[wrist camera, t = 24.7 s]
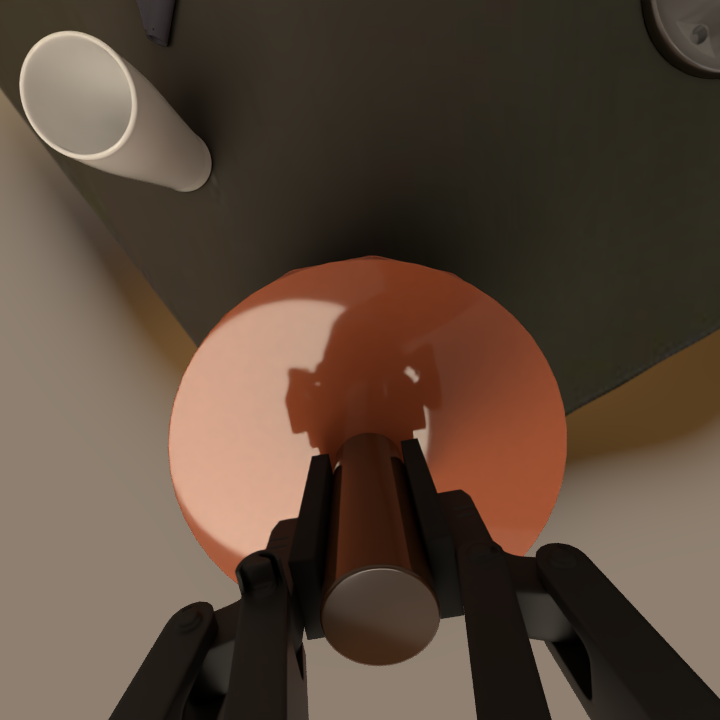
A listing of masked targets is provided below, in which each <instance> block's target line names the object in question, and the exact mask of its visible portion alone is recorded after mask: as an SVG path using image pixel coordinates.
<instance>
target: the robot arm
mask: <svg viewBox="0 0 720 720" xmlns="http://www.w3.org/2000/svg"><path fill="white" fill-rule="evenodd" d="M642 7H643V14H644V19H645V23H646V26H647V29H648V32H649V34H650V37H651V39H652V41H653V43H654V44H655V46H656V48H657V49H658V50H659V52H660V53H661V54H662V56H663V57H664V58H665V59H666V60H667V61H668V62H669V63H671V64H672V65H673V66H674V67H676V68H678V69H679V70H681V71H683V72H685V73H687V74H689V75H692V76H695V77H700V78H707V79H720V0H642ZM400 442H401V448H402V454H403V460H404V465H405V469H406V473H407V477H408V481H409V485H410V489H411V493H412V497H413V501H414V505H415V509H416V513H417V517H418V521H419V525H420V529H421V533H422V537H423V541H424V545H425V549H426V552H427V556H428V560H429V564H430V568H431V572H432V576H433V580H434V584H435V588H436V591H437V595H438V599H439V603H440V610H441V615H440V619H443V618H449V617H455V616H461V615H464V613H465V622H466V630H467V638H468V647H469V655H470V663H471V671H472V679H473V688H474V696H475V705H476V713H477V720H552V719H551V716H550V713H549V709H548V705H547V702H546V698H545V694H544V691H543V688H542V684H541V680H540V677H539V673H538V670H537V666H536V662H535V659H534V655H533V652H532V648H531V644H530V641H529V638H530V639H536V640H543V641H545V644H546V646H547V647H548V649H549V651H550V652H551V654H552V656H553V657H554V659H555V661H556V662H557V664H558V666H559V667H560V669H561V671H562V672H563V674H564V676H565V677H566V679H567V681H568V682H569V684H570V686H571V687H572V689H573V691H574V692H575V694H576V696H577V697H578V699H579V701H580V702H581V704H582V706H583V708H584V709H585V711H586V712H587V714H588V716H589V717H590V719H591V720H720V699H719V698H718V697H717V695H716V694H715V693H714V692H713V691H712V690H711V689H710V688H709V687H708V686H707V685H706V684H705V683H704V682H703V680H702V679H701V678H700V677H699V676H698V675H697V674H696V673H695V672H694V671H693V670H692V669H691V668H690V666H689V665H688V664H687V663H686V662H685V661H684V660H683V659H682V658H681V657H680V656H679V655H678V653H677V652H676V651H675V650H674V649H673V648H672V647H671V646H670V645H669V644H668V643H667V642H666V641H665V639H664V638H663V637H662V636H660V634H659V633H658V632H657V631H656V630H655V629H654V628H653V627H652V626H651V624H650V623H649V622H648V621H647V620H646V619H645V618H644V617H643V616H642V615H641V614H640V613H639V612H638V610H636V608H635V607H634V606H633V605H632V604H631V603H630V602H629V601H628V600H627V599H626V598H625V597H624V595H623V594H622V593H621V592H620V591H619V590H618V589H617V588H616V587H615V586H614V585H613V584H612V583H611V581H610V580H609V579H608V578H607V577H606V576H605V575H604V574H603V573H602V572H601V571H600V570H599V569H598V567H597V566H596V565H595V564H594V563H593V562H592V561H591V560H590V559H589V558H588V557H587V556H586V555H585V554H584V553H583V552H582V551H580V550H579V549H577V548H575V547H573V546H570V545H567V544H561V543H551V544H547V545H544V546H542V547H540V549H539V550H538V551H537V552H536V557H524V556H517V555H513V554H510V553H507V552H505V551H504V550H503V549H502V547H501V546H500V545H499V544H497V543H496V542H494V541H493V539H492V538H491V536H490V534H489V532H488V530H487V528H486V526H485V524H484V522H483V520H482V518H481V516H480V514H479V512H478V510H477V508H476V507H475V504H474V502H473V500H472V498H471V496H470V495H468V494H467V493H466V492H464V491H463V490H461V489H459V490H453V491H447V492H441V493H437V490H436V487H435V485H434V482H433V479H432V476H431V474H430V471H429V468H428V466H427V463H426V460H425V457H424V455H423V452H422V449H421V446H420V444H419V441H418V438H415V439H409V440H403V441H400ZM332 483H333V471H332V467H331V462H330V457H329V453H327V454H321V455H316V456H312V458H311V462H310V466H309V471H308V475H307V480H306V484H305V489H304V493H303V498H302V502H301V507H300V511H299V516H298V517H297V518H291V519H285V520H280V521H279V522H278V523H277V524H276V526H275V527H274V528H273V529H272V531H271V534H270V537H269V540H268V541H269V542H268V543H267V547H266V549H265V550H259V551H256V552H254V553H251V554H250V555H248V556H247V557H245V558H244V559H243V560H242V561H241V562H240V563H239V564H238V565H237V567H236V570H235V574H236V578H237V581H238V585H239V588H240V591H241V595H242V597H241V599H240V600H238V601H237V602H235V603H233V604H231V605H229V606H226V607H224V608H222V609H219V610H217V611H214V610H213V607H212V605H211V604H209V603H208V602H196V603H193V604H190V605H188V606H186V607H184V608H182V609H180V610H179V611H178V612H177V613H175V614H174V615H173V616H172V617H171V619H170V620H169V621H168V623H167V624H166V625H165V627H164V629H163V631H162V632H161V634H160V635H159V637H158V639H157V640H156V642H155V644H154V645H153V647H152V648H151V650H150V652H149V654H148V655H147V657H146V658H145V660H144V662H143V663H142V665H141V667H140V669H139V670H138V672H137V673H136V675H135V677H134V678H133V680H132V682H131V683H130V685H129V687H128V688H127V690H126V692H125V693H124V695H123V696H122V698H121V700H120V701H119V703H118V705H117V706H116V708H115V710H114V711H113V713H112V715H111V716H110V718H109V720H309V718H308V696H307V675H306V655H305V650H304V646H303V642H302V638H303V631H304V627H305V631H306V635H307V639H308V640H311V639H317V638H323V637H325V636H324V634H323V631H322V628H321V625H320V603H321V593H322V583H323V573H324V563H325V553H326V543H327V533H328V523H329V513H330V503H331V493H332ZM463 606H464V608H463Z"/></svg>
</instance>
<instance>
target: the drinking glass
mask: <svg viewBox="0 0 720 720" xmlns="http://www.w3.org/2000/svg"><path fill="white" fill-rule="evenodd" d="M20 96H21V101H22V105H23V108H24V111H25V114H26V116H27V118H28V120H29V122H30V124H31V125H32V127H33V128H34V130H35V131H36V132H37V134H38V135H39V136H40V137H41V138H42V139H43V140H44V141H45V142H46V143H47V144H48V145H49V146H51V147H52V148H53V149H55V150H57V151H58V152H60V153H62V154H64V155H66V156H68V157H71V158H73V159H75V160H77V161H79V162H81V163H84V164H86V165H88V166H91V167H93V168H96V169H99V170H101V171H104V172H107V173H111V174H114V175H118V176H122V177H126V178H130V179H135V180H139V181H144V182H148V183H152V184H157V185H161V186H165V187H169V188H171V189H173V190H176V191H181V192H190V191H194V190H196V189H198V188H200V187H201V186H202V185H203V184H204V183H205V182H206V181H207V179H208V178H209V175H210V172H211V166H212V162H211V156H210V152H209V150H208V148H207V146H206V144H205V143H204V141H203V140H202V139H201V138H200V137H199V136H198V135H197V134H196V133H194V132H193V131H192V130H191V128H190V127H189V126H188V125H187V124H186V123H185V122H184V120H183V119H182V118H181V117H180V116H179V115H178V113H177V112H176V111H175V110H174V109H173V108H172V106H171V105H170V104H169V103H168V102H167V100H166V99H165V98H164V97H163V96H162V95H161V93H160V92H159V91H158V90H157V89H156V88H155V87H154V86H153V85H152V83H151V82H150V81H149V80H148V79H147V78H146V77H145V76H144V75H142V74H141V73H140V72H139V71H138V70H137V69H136V68H135V67H134V66H133V65H132V64H130V63H129V62H128V61H127V60H126V59H124V58H123V57H122V56H121V55H119V54H118V53H117V52H116V51H114V50H113V49H112V48H111V47H109V46H108V45H107V44H105V43H104V42H102V41H101V40H99V39H97V38H96V37H93V36H91V35H89V34H85V33H82V32H77V31H61V32H56V33H53V34H50V35H48V36H46V37H44V38H43V39H41V40H40V41H38V42H37V43H36V44H35V45H34V46H33V47H32V49H31V50H30V51H29V53H28V54H27V56H26V58H25V60H24V63H23V65H22V69H21V74H20Z"/></svg>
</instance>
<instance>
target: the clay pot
mask: <svg viewBox="0 0 720 720" xmlns="http://www.w3.org/2000/svg"><path fill="white" fill-rule="evenodd" d="M415 438H418V441H419V444H420V446H421V449H422V452H423V455H424V457H425V460H426V463H427V466H428V468H429V471H430V474H431V476H432V479H433V482H434V485H435V487H436V490H437V493H441V492H447V491H453V490H459V489H461V490H463V491H464V492H466V493H467V494H468V495H470V496H471V498H472V500H473V502H474V504H475V507H476V508H477V510H478V512H479V514H480V516H481V518H482V520H483V522H484V524H485V526H486V528H487V530H488V532H489V534H490V536H491V538H492V539H493V541H494V542H496V543H497V544H499V545H500V546H501V547H502V549H503V550H504V551H505V552H507V553H510V554H513V555H517V556H524V555H525V554H526V552H527V551H528V550H529V549H530V547H531V546H532V545H533V544H534V542H535V541H536V539H537V538H538V536H539V534H540V532H541V531H542V530H543V528H544V526H545V525H546V523H547V521H548V519H549V517H550V514H551V512H552V509H553V508H554V505H555V503H556V501H557V497H558V494H559V491H560V487H561V484H562V480H563V476H564V469H565V463H566V456H567V427H566V420H565V412H564V405H563V402H562V399H561V395H560V392H559V388H558V385H557V381H556V379H555V377H554V375H553V373H552V370H551V368H550V366H549V364H548V362H547V359H546V358H545V356H544V354H543V353H542V351H541V350H540V348H539V347H538V345H537V344H536V342H535V341H534V339H533V337H532V336H531V335H530V334H529V333H528V331H527V330H526V329H525V328H524V327H523V326H522V325H521V323H520V322H519V321H518V320H517V319H516V318H515V317H514V316H513V315H512V314H511V313H510V312H509V311H507V310H506V309H505V308H504V307H503V306H502V305H500V304H499V303H498V302H497V301H496V300H495V299H493V298H492V297H490V296H489V295H487V294H485V293H484V292H482V291H481V290H479V289H478V288H476V287H475V286H473V285H471V284H470V283H467V282H465V281H464V280H462V279H461V278H460V277H458V276H457V275H456V274H454V273H451V272H446V271H442V270H438V269H433V268H429V267H426V266H423V265H419V264H414V263H408V262H402V261H398V260H394V259H389V258H385V257H381V256H376V255H374V256H373V255H370V256H365V257H359V258H354V259H348V260H343V261H337V262H330V263H326V264H321V265H316V266H310V267H305V268H299V269H294V270H292V271H289V272H287V273H286V274H284V275H283V276H281V277H280V278H278V279H277V280H275V281H274V282H272V283H270V284H268V285H267V286H265V287H263V288H261V289H260V290H258V291H256V292H255V293H253V294H251V295H250V296H249V297H247V298H246V299H245V300H243V301H242V302H241V303H240V304H238V305H237V306H236V307H234V308H233V309H232V310H231V311H229V312H228V313H226V314H225V315H224V316H223V317H222V319H221V320H220V322H219V323H218V324H217V325H216V326H215V327H214V328H213V329H212V330H211V331H210V332H209V334H208V335H207V336H206V338H205V339H204V340H203V342H202V343H201V345H200V346H199V347H198V349H197V350H196V352H195V353H194V355H193V357H192V359H191V361H190V363H189V365H188V366H187V368H186V370H185V372H184V374H183V376H182V379H181V382H180V385H179V387H178V390H177V393H176V396H175V399H174V403H173V408H172V413H171V419H170V423H169V440H168V441H169V442H168V454H169V465H170V474H171V478H172V482H173V487H174V491H175V495H176V498H177V501H178V503H179V506H180V508H181V511H182V513H183V516H184V518H185V520H186V522H187V524H188V526H189V527H190V529H191V531H192V533H193V535H194V536H195V538H196V540H197V541H198V542H199V544H200V545H201V546H202V548H203V549H204V550H205V552H206V553H207V555H208V556H209V557H210V558H211V559H212V560H213V561H214V562H215V564H216V565H217V566H218V567H219V568H220V569H221V570H222V571H223V572H224V573H225V574H226V575H227V576H229V577H230V578H231V579H232V580H233V581H235V582H236V583H237V584H238V581H237V578H236V574H235V570H236V567H237V565H238V564H239V563H240V562H241V561H242V560H243V559H244V558H245V557H247V556H248V555H250V554H251V553H254V552H256V551H259V550H265V549H266V547H267V543H268V542H269V541H268V540H269V537H270V534H271V531H272V529H273V528H274V527H275V526H276V524H277V523H278V522H279V521H280V520H285V519H291V518H297V517H298V516H299V511H300V507H301V502H302V498H303V493H304V489H305V484H306V480H307V475H308V471H309V466H310V462H311V458H312V456H316V455H321V454H327V453H329V457H330V462H331V467H332V471H333V483H332V493H331V503H330V513H329V523H328V533H327V543H326V553H325V563H324V573H323V583H322V593H321V603H320V625H321V628H322V631H323V634H324V636H325V638H326V639H327V641H328V642H329V644H330V645H331V646H332V647H333V648H334V649H335V650H336V651H337V652H338V653H340V654H341V655H342V656H344V657H346V658H347V659H349V660H351V661H354V662H357V663H360V664H364V665H371V666H387V665H393V664H397V663H401V662H404V661H406V660H408V659H411V658H412V657H414V656H416V655H417V654H419V653H420V652H421V651H423V650H424V649H425V648H426V647H427V646H428V644H429V643H430V642H431V641H432V639H433V638H434V636H435V634H436V632H437V630H438V627H439V622H440V615H441V610H440V603H439V599H438V595H437V591H436V588H435V584H434V580H433V576H432V572H431V568H430V564H429V560H428V556H427V552H426V549H425V545H424V541H423V537H422V533H421V529H420V525H419V521H418V517H417V513H416V509H415V505H414V501H413V497H412V493H411V489H410V485H409V481H408V477H407V473H406V469H405V465H404V460H403V454H402V448H401V442H400V441H403V440H409V439H415Z"/></svg>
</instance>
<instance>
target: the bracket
mask: <svg viewBox="0 0 720 720" xmlns="http://www.w3.org/2000/svg"><path fill="white" fill-rule="evenodd" d="M137 3H138V6H139V10H140V14H141V18H142V23H143V27H144V30H145V31H146V32H147V34H146V36H147V38H148V39H150V40H151V41H153V42H154V43H156V44H158V45H161V46H167V44H168V38H169V32H170V26H171V21H172V15H173V9H174V3H175V0H137Z"/></svg>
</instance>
